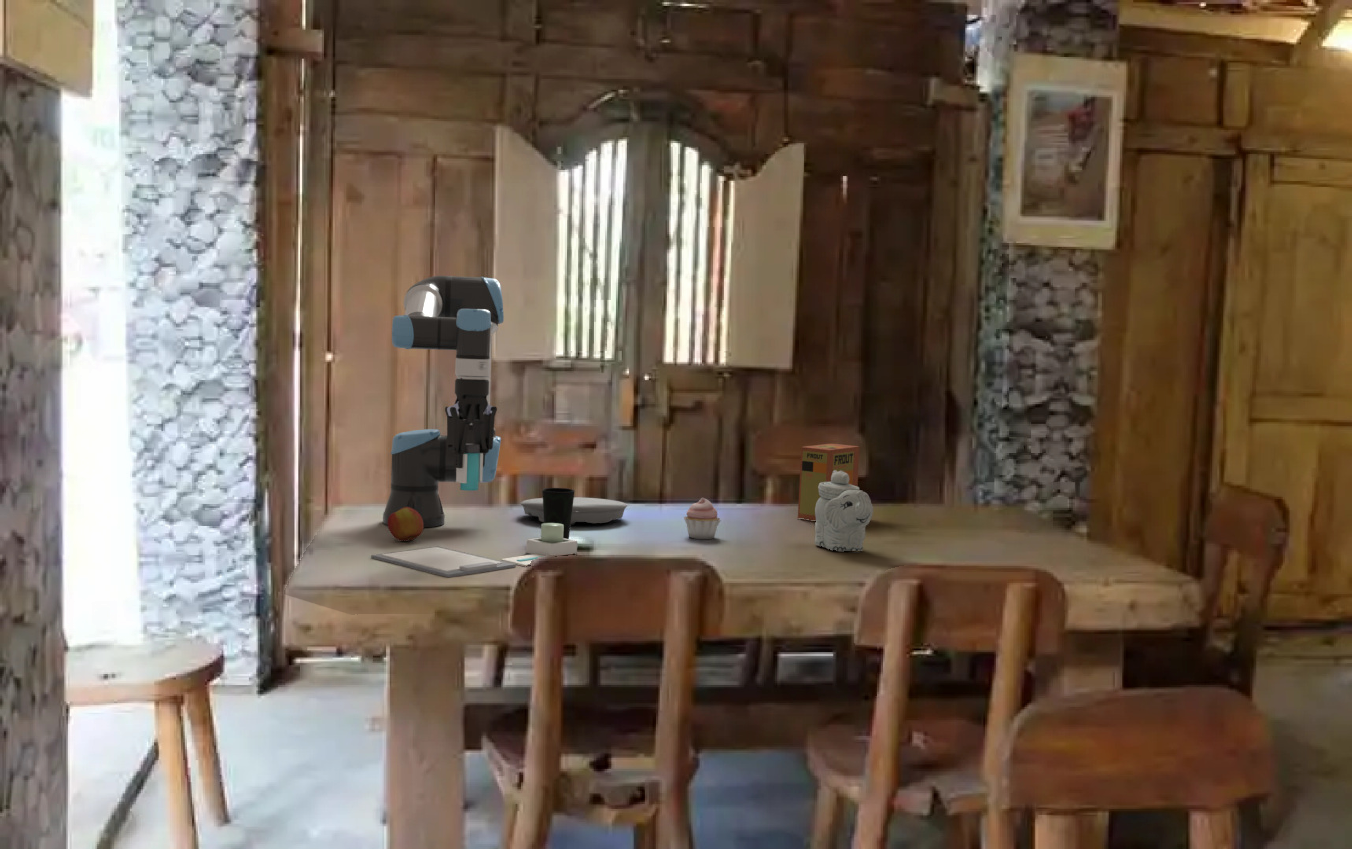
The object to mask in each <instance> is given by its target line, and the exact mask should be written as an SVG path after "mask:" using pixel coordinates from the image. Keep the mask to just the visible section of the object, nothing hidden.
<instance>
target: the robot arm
mask: <svg viewBox="0 0 1352 849" xmlns="http://www.w3.org/2000/svg"><path fill="white" fill-rule="evenodd" d="M403 308H404V314H403V315H395V316H393V318H392V322H391V344H392V346H393V347H394V348H395V349H396V348H398V349H405V350H411V349H412V350H413V349H415V350H441V351H442V350H443V351H444V350H445V351H455V352H456V354H455V365H454V366H455V367H454V369H455V370H454V371H455V373H454V374H455V376H456V378H455V380H454V394H455V401H454V404H453V405H450V406H445V408H444V412H445V415H446V435H441V431H440V430H439V429H436V428H434V429H433V428H431V429H430V428H427V429H416V430H408V431H403V432H399V433H397V434H395V435H394V436H393V437H392V442H391V443H392V444H391V451H390V454H391V470H390V472H391V473H390V475H391V476H390V493H389V496H388V499H387V502H386V506H385V508H384V511H383V513H382V523H383V524H384V525H387V526H388V518H389V516H390V515H391V514H392V513H394V512H397V511H398V510H400V509H402V508H404V507H410V508H412V509H414V510H416V511H417V512H418V513H419V514H420V516H421V517H422V520H423V528H432V527H433V528H434V527H439V526H442V525H444V524H445V520H446V519H445V516H446V514H445V512H444V509H443V505H442V504H443V503H442V501H441V498H440V494H439V483H459V484H460V483H467V454H464V452H465V447H466V444H480V453H479V481H478V484H479V483H483V484H484V483H491V482H493V481H494V480H495V478H496V474H497V467H498V462H499V455H500V454H499V453H500V451H501V450H500V448H501V442H502V438H501V436H497V435H496V428H495V417H496V414H497V410H498V408H497V406H494V405H491V386H492V384H491V383H492V382H491V379H492V377H491V376H492V375H491V374H492V345H493V344H492V341H493V339H492V336H493V335H494V334H495V333H496V332H497V331H498V329H499V325H500V324H502V323H504V319H505V318H504V317H505V316H504V301H503V293H502V286H501V284H500V282H499V280H498V279H496V278H493V277H492V278H491V277H484V276H478V277H477V276H459V275H458V276H457V275H452V276H451V275H434V276H430V277H428V278H424V279H421V280H420V281H418V282H416V283H414V284H413V285H412V286H411V287H410V288H409V289H408V290H407V291H406V293H405V295H404V299H403Z"/></svg>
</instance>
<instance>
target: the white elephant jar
mask: <svg viewBox="0 0 1352 849" xmlns="http://www.w3.org/2000/svg"><path fill="white" fill-rule="evenodd" d="M848 483H849V475H848V474H847V473H845V472H843V471H839V472H837V471H836V470H834V471H833V473H832V476H831V482H821V483H819V486H818V489H819V495H820V496H821V497H820V498H819V499H818V501H817V503H816V507H815V515H816V522H814V527H815V528H814V532H815V537H814V538H815V539H814V545H816V546H818V547H821V546H822V548H826V549H827V550H829V549H830V550H829V551H833V550H836V551H835V552H844V551H861V550H864V541H865V538H866V527H867V526H868V525H869V524H870V521H871V520H872V518H873V513H874V507H873V504H872V501H871V497H870V496H869V494H868V493H867V492H865V491H863V490H860V487H859V486H854V485H851V484H848Z"/></svg>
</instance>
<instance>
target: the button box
mask: <svg viewBox="0 0 1352 849" xmlns="http://www.w3.org/2000/svg"><path fill="white" fill-rule="evenodd" d="M525 550H526V551H525V552H526V554H529V555H532V554H537V555H542V556H546V555H554V554H571V553H575V555H577V554H578V541H577V540H574V539H570V538H569V539H565V538H563V542H559V543H546V542H542V541H541V537H535V538H528V539H526V549H525Z"/></svg>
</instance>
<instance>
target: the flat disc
mask: <svg viewBox="0 0 1352 849" xmlns="http://www.w3.org/2000/svg"><path fill="white" fill-rule="evenodd" d="M628 505H629V504H627V503H625V502H623V501H619V500H615V499H614V500H613V499H607V498H596V497H579V496H578V497H575V496H574V500H573V508H572V516H571V524H570V526H573V525H575V524H576V522H577V523H584V522H586V523H588V524H590V523H591V524H598V523H599V524H602V523H609V522H611V521H615V520H618V519H622V518H623V515H624V512H625V509H626V508H627V507H628ZM520 506H522V507H523V512H524V514H525V515H528V516H533V517H538V520H539V522H542V523H544V512H543V497H541V498H539V497H538V498H529V499H526V500H525V499H524V500H522V501H520Z"/></svg>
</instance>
